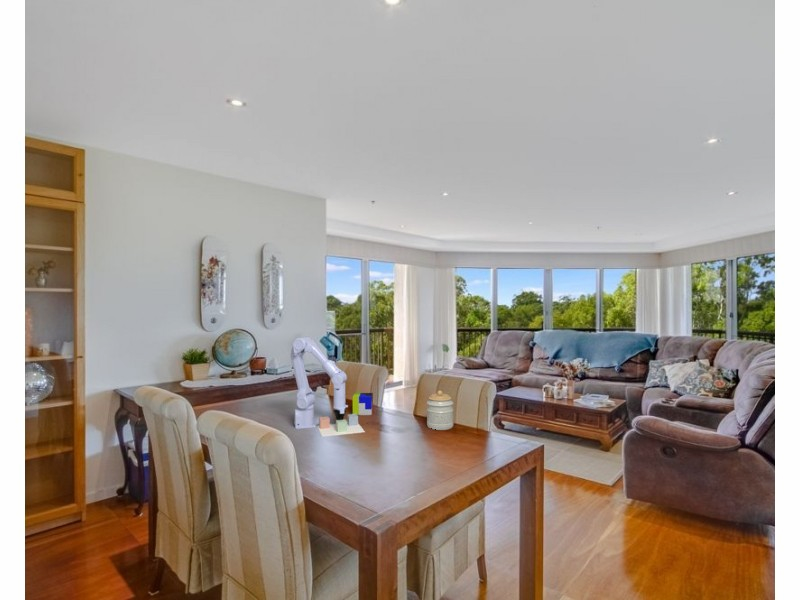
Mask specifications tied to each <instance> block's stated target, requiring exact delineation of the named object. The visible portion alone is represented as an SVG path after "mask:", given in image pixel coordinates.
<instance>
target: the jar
mask: <svg viewBox="0 0 800 600" xmlns="http://www.w3.org/2000/svg"><path fill="white" fill-rule="evenodd" d="M426 405H427V407H426V413H427V414H426V417H427V418H426V425H427V428H429V429H431V428H432V429H431V430H435V429H436V430H437V431H446V430H450V429H452V428H453V427H454V408H453V405H454V402H453V400H452V397H451V396H450V395H449V394H448V393H443V391H442V390H438V391H437V392H436V393H433V394H431V395H429V396H428V400H427V401H426Z"/></svg>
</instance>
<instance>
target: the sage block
mask: <svg viewBox="0 0 800 600" xmlns="http://www.w3.org/2000/svg"><path fill="white" fill-rule="evenodd" d="M335 424H336V430H337V432H347V419H343V420H335Z"/></svg>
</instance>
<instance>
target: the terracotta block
mask: <svg viewBox="0 0 800 600" xmlns="http://www.w3.org/2000/svg"><path fill="white" fill-rule="evenodd" d="M330 420H331V419H330V417H329V416H328V415H327V416H319V417H318V425H319V427H320V429H326V428H330V424H331V423H330V422H331V421H330Z"/></svg>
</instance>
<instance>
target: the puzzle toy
mask: <svg viewBox="0 0 800 600" xmlns="http://www.w3.org/2000/svg"><path fill="white" fill-rule="evenodd" d="M373 394H374V393H373V392H354V394H353V395H352V414H357V415H358V416H371V415H373V412H374V403H373V402H374V401H373V400H374V398H373V397H374V395H373Z"/></svg>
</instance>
